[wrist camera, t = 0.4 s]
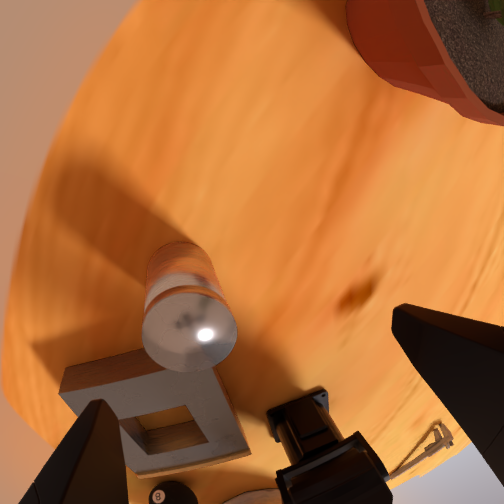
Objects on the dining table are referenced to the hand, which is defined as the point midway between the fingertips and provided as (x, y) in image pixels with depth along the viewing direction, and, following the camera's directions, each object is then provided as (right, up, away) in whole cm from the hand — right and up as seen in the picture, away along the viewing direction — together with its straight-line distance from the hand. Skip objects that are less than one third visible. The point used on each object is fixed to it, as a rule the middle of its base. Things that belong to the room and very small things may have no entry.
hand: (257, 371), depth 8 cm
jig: (-8, -10, +16) cm, 21 cm away
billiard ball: (-11, -26, +22) cm, 36 cm away
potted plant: (+11, +20, +9) cm, 25 cm away
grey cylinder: (-5, +2, +12) cm, 13 cm away
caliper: (+35, -41, +41) cm, 68 cm away
